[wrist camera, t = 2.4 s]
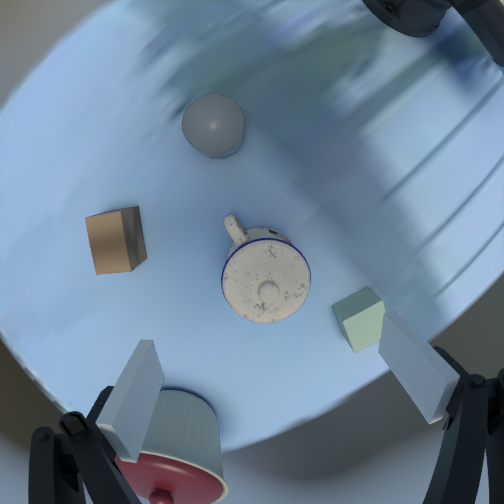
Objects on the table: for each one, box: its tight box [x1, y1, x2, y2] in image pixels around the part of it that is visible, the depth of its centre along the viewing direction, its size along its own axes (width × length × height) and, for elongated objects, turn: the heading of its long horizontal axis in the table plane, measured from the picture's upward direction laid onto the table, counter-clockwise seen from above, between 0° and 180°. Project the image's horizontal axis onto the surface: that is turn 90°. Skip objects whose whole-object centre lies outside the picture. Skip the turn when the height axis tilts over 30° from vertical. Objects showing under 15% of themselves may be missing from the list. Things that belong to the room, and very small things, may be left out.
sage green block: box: [332, 287, 386, 353], centre depth 37 cm, size 6×6×5 cm
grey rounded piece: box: [182, 94, 244, 159], centre depth 28 cm, size 6×6×8 cm
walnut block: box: [85, 206, 147, 275], centre depth 32 cm, size 7×5×6 cm
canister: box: [114, 390, 229, 504], centre depth 33 cm, size 18×18×21 cm
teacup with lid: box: [221, 214, 311, 323], centre depth 30 cm, size 12×9×12 cm
